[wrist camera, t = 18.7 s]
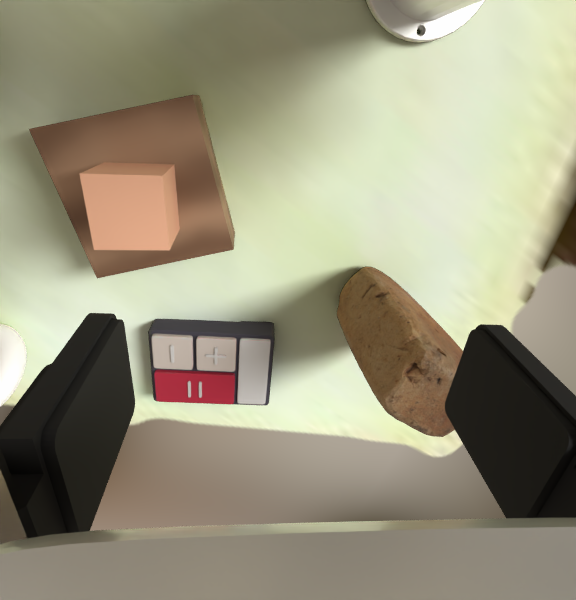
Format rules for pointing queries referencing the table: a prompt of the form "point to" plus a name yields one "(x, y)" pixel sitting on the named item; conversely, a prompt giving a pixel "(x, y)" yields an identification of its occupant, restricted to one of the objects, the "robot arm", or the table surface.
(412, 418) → the brown rock
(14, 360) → the white knot
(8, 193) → the table surface
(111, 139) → the walnut block
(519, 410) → the robot arm
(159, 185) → the terracotta cube
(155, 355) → the calculator
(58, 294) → the table surface
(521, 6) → the table surface
